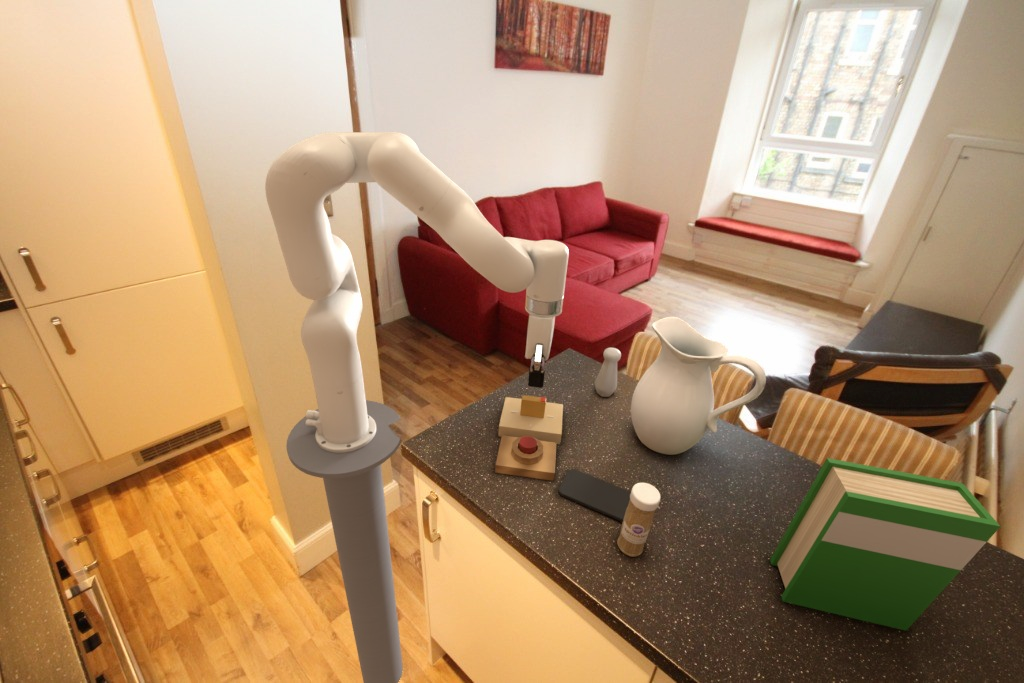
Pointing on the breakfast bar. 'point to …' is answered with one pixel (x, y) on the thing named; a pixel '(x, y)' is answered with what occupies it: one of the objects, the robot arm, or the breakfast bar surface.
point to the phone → (595, 494)
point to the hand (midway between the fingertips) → (537, 373)
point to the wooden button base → (526, 459)
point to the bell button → (527, 445)
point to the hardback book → (878, 542)
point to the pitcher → (684, 388)
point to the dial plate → (531, 422)
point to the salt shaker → (608, 373)
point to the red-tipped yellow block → (533, 406)
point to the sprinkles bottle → (638, 518)
